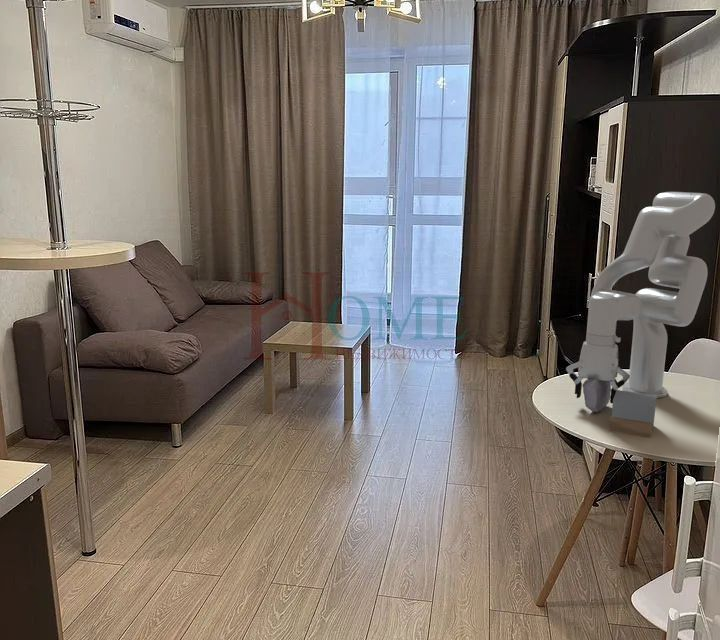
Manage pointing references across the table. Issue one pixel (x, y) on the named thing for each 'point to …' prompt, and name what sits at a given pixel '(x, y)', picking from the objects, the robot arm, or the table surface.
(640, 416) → the tower top
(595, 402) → the stone block
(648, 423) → the tower base
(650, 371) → the robot arm
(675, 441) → the table surface
